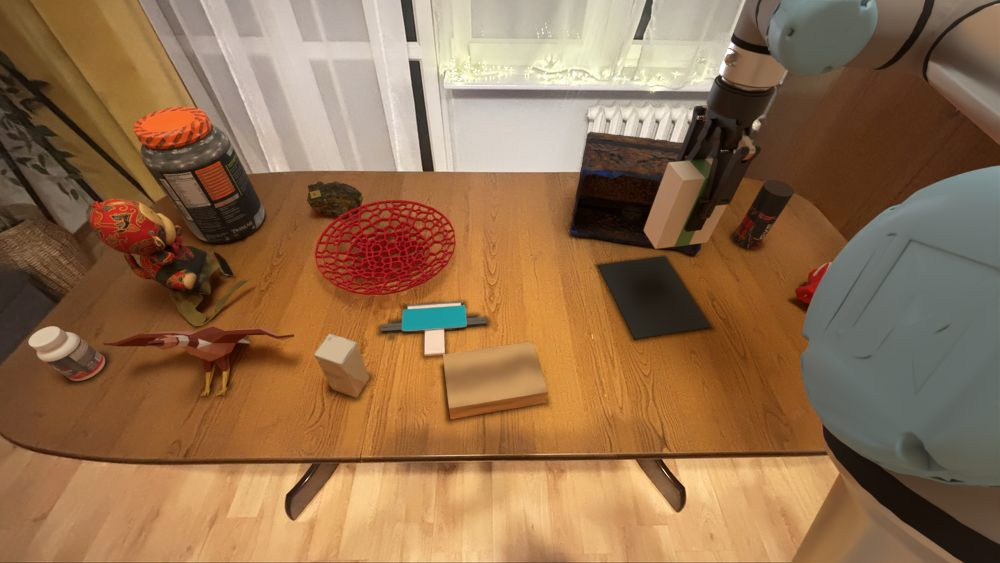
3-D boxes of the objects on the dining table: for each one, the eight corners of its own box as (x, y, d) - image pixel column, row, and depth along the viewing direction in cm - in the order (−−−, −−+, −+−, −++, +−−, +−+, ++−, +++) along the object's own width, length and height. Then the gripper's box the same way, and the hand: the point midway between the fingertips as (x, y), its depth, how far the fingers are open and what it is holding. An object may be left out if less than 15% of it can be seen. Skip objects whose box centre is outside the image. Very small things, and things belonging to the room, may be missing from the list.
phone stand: (378, 360, 75) (377, 355, 73) (384, 308, 83) (382, 303, 81) (489, 351, 76) (489, 346, 75) (484, 301, 84) (484, 296, 83)
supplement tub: (225, 199, 105) (168, 97, 86) (280, 210, 103) (233, 107, 84) (178, 239, 95) (100, 133, 76) (237, 252, 92) (173, 146, 73)
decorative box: (702, 261, 95) (689, 201, 107) (742, 194, 79) (722, 132, 91) (568, 249, 98) (570, 192, 110) (580, 182, 82) (581, 123, 93)
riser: (545, 403, 70) (548, 391, 67) (450, 419, 67) (448, 408, 64) (531, 353, 76) (533, 340, 73) (444, 366, 74) (442, 354, 71)
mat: (710, 327, 81) (711, 326, 81) (634, 339, 79) (634, 338, 79) (664, 257, 94) (665, 256, 94) (597, 265, 92) (598, 264, 92)
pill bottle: (61, 382, 70) (13, 350, 63) (82, 355, 74) (38, 322, 67) (94, 381, 71) (50, 349, 63) (113, 354, 74) (73, 321, 67)
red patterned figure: (233, 323, 77) (108, 226, 59) (158, 333, 81) (18, 244, 62) (263, 263, 87) (165, 164, 68) (196, 274, 90) (84, 182, 72)
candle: (878, 314, 84) (811, 333, 82) (835, 274, 91) (773, 291, 90) (907, 285, 77) (835, 306, 76) (858, 245, 84) (791, 263, 83)
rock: (357, 169, 101) (351, 182, 95) (371, 202, 106) (367, 217, 100) (308, 181, 101) (299, 195, 95) (325, 214, 107) (317, 229, 100)
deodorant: (740, 229, 102) (771, 176, 91) (764, 242, 99) (799, 189, 88) (728, 239, 99) (758, 186, 88) (751, 253, 96) (786, 200, 85)
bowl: (324, 325, 80) (316, 308, 76) (319, 229, 98) (312, 212, 95) (472, 291, 86) (471, 274, 83) (441, 207, 105) (439, 191, 101)
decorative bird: (85, 432, 61) (37, 347, 55) (166, 359, 78) (136, 287, 71) (283, 421, 63) (259, 337, 57) (321, 352, 80) (306, 281, 73)
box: (331, 389, 71) (311, 353, 62) (345, 368, 73) (327, 331, 65) (358, 398, 70) (341, 364, 61) (371, 377, 72) (357, 341, 64)
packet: (683, 180, 62) (743, 174, 63) (668, 161, 65) (725, 156, 67) (655, 249, 72) (707, 243, 74) (643, 230, 76) (693, 224, 77)
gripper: (686, 55, 60) (642, 190, 77) (762, 113, 48) (690, 257, 65) (733, 53, 61) (679, 186, 78) (819, 109, 49) (733, 251, 66)
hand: (684, 218), depth 72 cm, fingers closed on packet, 5 cm apart
